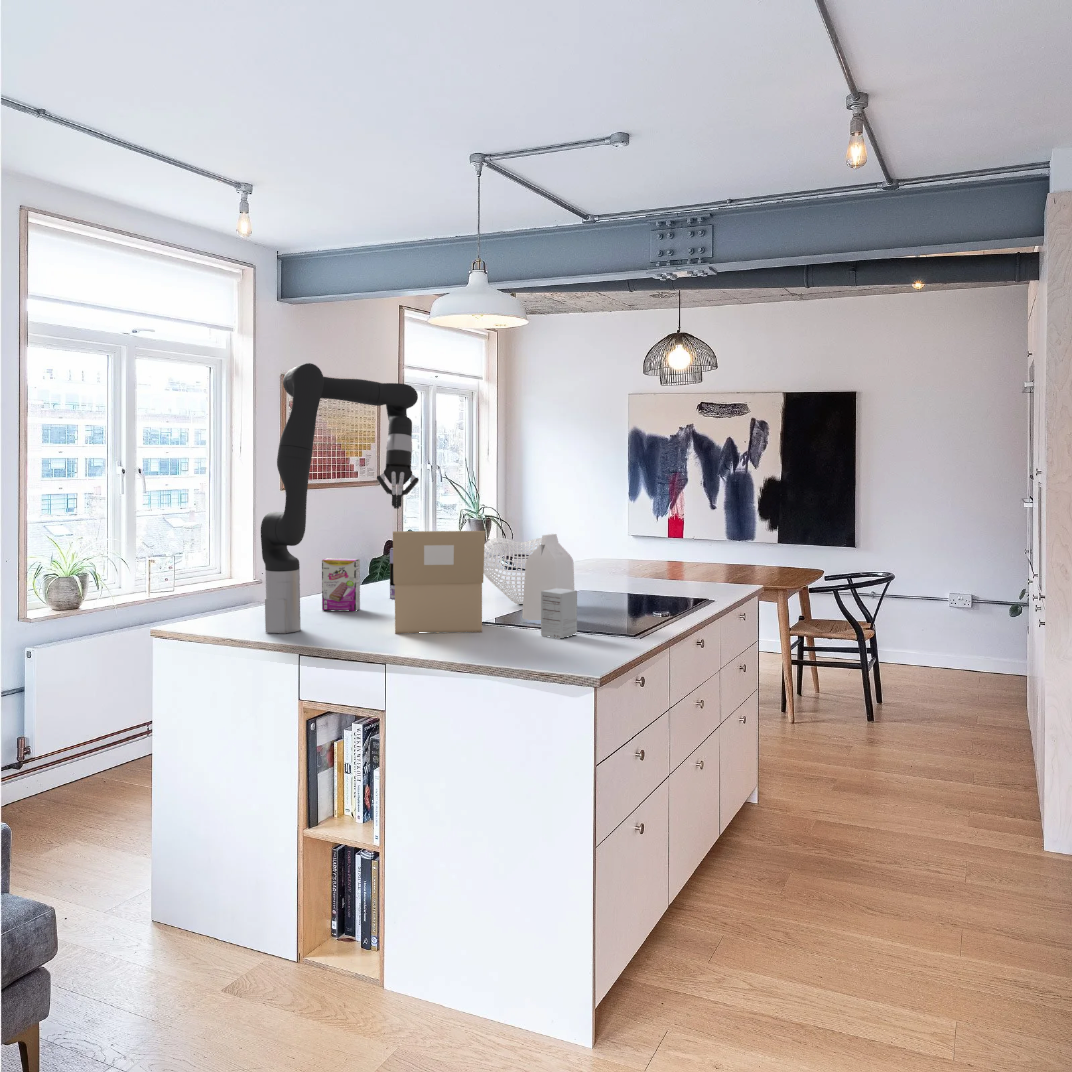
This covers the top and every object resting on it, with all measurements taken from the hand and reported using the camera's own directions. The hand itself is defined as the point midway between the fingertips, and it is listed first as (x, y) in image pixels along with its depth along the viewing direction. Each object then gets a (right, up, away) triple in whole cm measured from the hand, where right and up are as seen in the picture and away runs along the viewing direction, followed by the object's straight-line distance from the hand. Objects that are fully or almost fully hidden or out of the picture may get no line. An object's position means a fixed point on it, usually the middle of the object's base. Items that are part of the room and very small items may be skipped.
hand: (396, 508), depth 282 cm
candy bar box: (-20, -32, +19) cm, 42 cm away
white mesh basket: (+37, -31, +31) cm, 57 cm away
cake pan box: (-3, -29, +49) cm, 58 cm away
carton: (+13, -35, -10) cm, 39 cm away
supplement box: (+48, -36, -21) cm, 64 cm away
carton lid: (+15, -14, -23) cm, 31 cm away
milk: (+45, -34, +1) cm, 57 cm away
